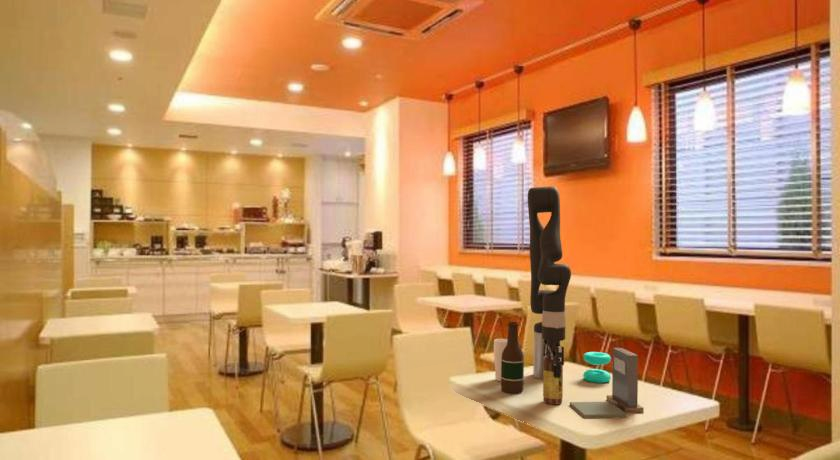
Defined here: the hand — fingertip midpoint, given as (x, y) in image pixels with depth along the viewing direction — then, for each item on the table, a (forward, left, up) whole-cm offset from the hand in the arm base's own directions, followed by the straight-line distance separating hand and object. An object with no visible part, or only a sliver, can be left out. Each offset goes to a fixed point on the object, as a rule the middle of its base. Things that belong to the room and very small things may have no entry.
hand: (553, 374), depth 192 cm
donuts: (-28, +26, -9) cm, 39 cm away
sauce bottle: (0, 0, -9) cm, 9 cm away
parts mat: (+10, +11, -9) cm, 17 cm away
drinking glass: (-29, -10, -9) cm, 32 cm away
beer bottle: (-14, -10, -9) cm, 20 cm away
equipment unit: (+5, +22, -9) cm, 24 cm away
